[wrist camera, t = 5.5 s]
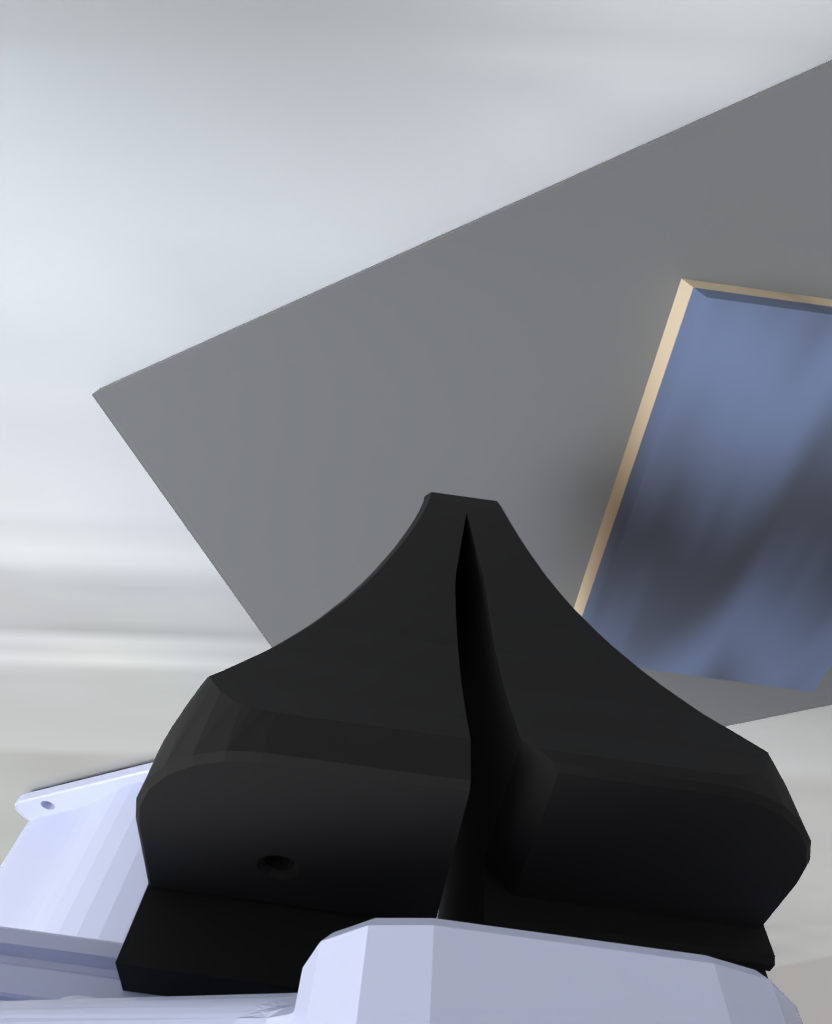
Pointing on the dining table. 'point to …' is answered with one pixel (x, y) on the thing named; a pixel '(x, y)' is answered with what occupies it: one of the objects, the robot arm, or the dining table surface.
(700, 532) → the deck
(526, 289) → the mat
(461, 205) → the dining table surface
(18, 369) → the dining table surface
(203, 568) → the dining table surface
